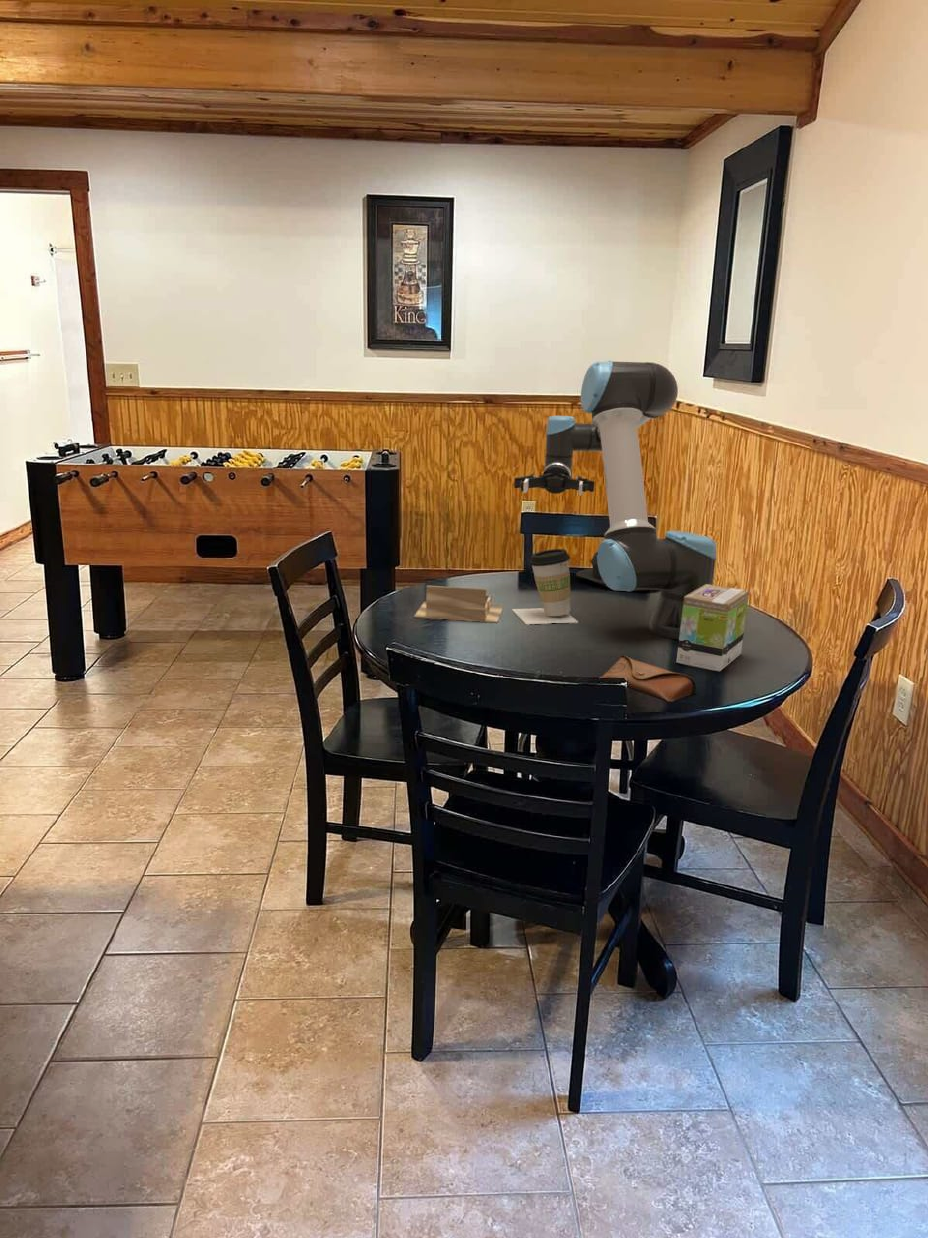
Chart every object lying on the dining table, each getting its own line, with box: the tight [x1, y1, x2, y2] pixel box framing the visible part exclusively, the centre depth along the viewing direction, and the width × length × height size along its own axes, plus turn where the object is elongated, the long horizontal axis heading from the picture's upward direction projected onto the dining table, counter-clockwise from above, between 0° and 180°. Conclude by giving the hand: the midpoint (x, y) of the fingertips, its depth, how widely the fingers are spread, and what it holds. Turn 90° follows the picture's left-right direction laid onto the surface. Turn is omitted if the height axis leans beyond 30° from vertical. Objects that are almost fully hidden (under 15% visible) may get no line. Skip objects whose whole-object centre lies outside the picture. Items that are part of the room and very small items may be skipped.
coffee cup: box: [529, 548, 571, 616], centre depth 224 cm, size 10×10×15 cm
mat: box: [511, 607, 579, 626], centre depth 226 cm, size 13×13×1 cm
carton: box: [413, 585, 504, 624], centre depth 228 cm, size 17×20×8 cm
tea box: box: [675, 584, 750, 672], centre depth 195 cm, size 15×10×15 cm
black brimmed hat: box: [575, 551, 609, 588], centre depth 259 cm, size 25×19×8 cm
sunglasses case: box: [599, 654, 697, 703], centre depth 180 cm, size 18×7×7 cm
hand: (552, 488), depth 227 cm, fingers open, 13 cm apart
